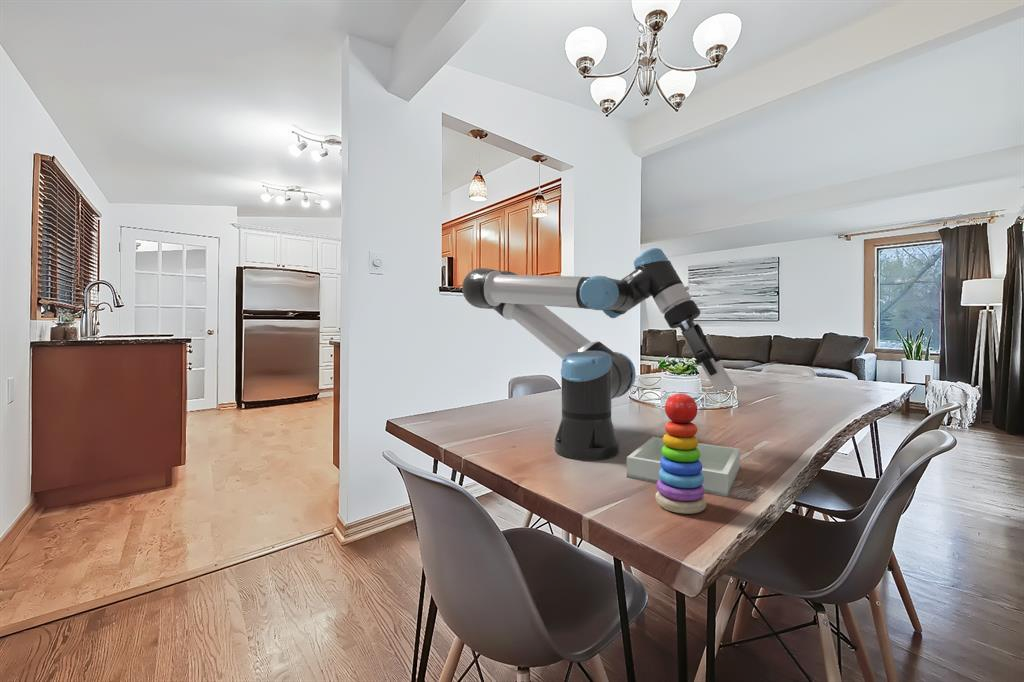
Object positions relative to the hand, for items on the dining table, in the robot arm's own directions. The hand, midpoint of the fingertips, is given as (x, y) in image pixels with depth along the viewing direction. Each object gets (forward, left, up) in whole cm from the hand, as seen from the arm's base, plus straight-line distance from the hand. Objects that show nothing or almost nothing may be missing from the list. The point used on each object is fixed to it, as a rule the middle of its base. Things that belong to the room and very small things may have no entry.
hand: (726, 388), depth 96 cm
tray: (-6, -14, -16) cm, 22 cm away
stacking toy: (-3, -31, -16) cm, 35 cm away
